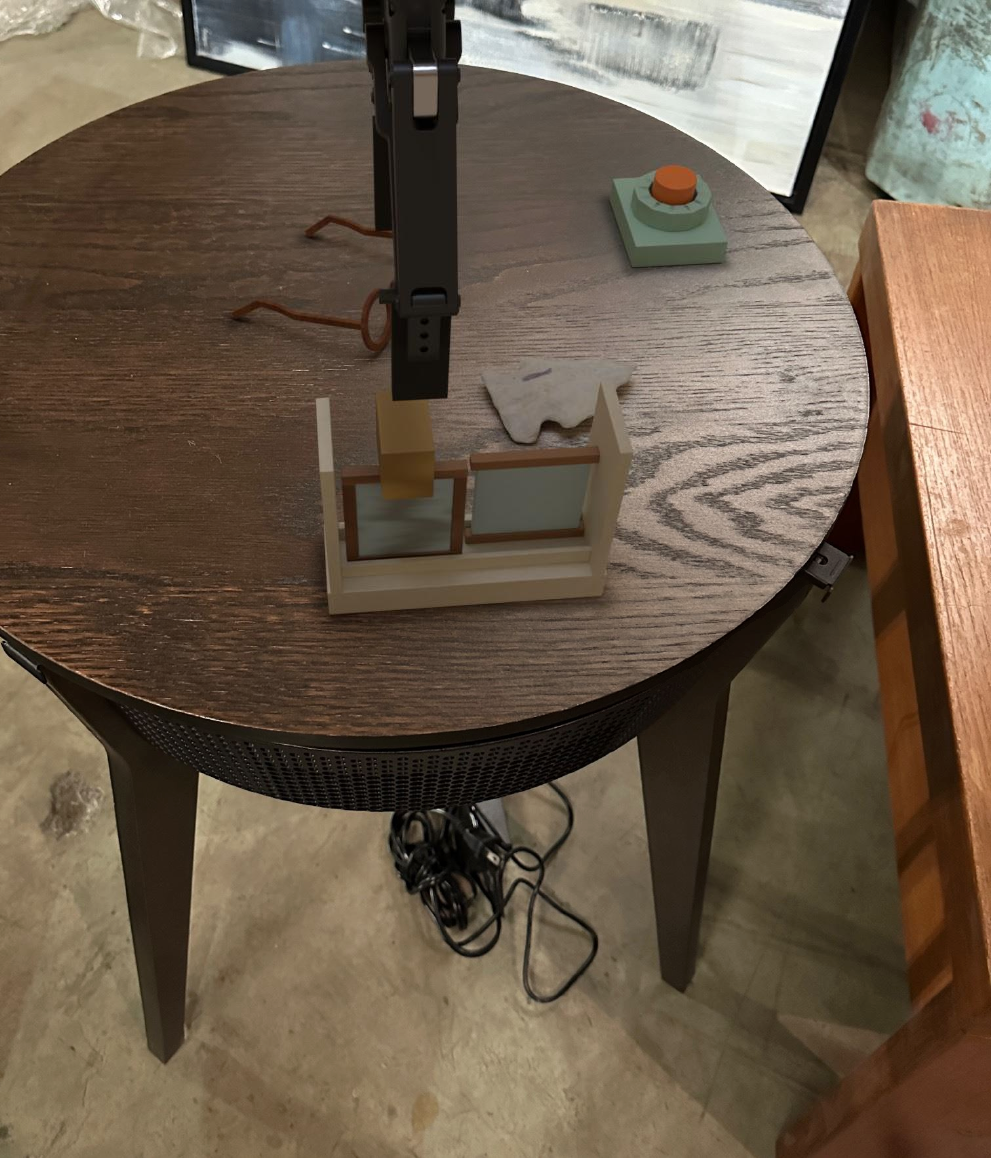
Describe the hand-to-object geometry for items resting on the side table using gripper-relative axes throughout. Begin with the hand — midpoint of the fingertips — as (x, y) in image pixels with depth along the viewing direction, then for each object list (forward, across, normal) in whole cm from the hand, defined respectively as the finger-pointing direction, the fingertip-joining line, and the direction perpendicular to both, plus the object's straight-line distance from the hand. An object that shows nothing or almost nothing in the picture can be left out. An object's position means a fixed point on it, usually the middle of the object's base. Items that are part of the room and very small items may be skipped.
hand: (408, 305), depth 58 cm
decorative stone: (+22, -15, +14) cm, 30 cm away
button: (+19, -36, +26) cm, 48 cm away
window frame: (+22, +1, +4) cm, 23 cm away
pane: (+20, +2, 0) cm, 20 cm away
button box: (+22, -36, +26) cm, 49 cm away
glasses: (+22, -29, -4) cm, 37 cm away
